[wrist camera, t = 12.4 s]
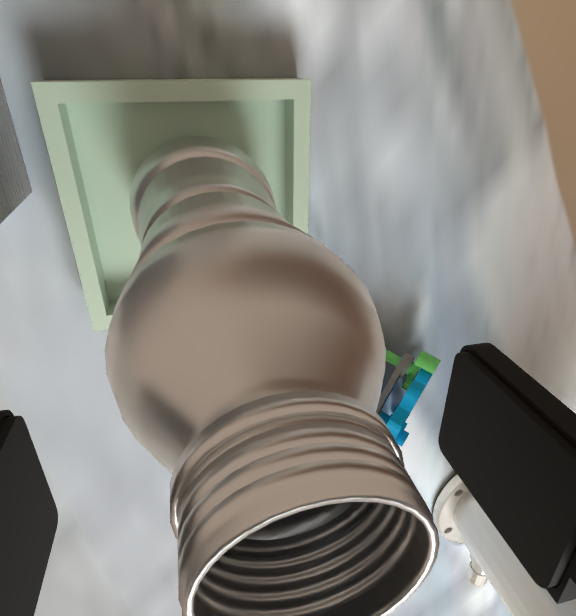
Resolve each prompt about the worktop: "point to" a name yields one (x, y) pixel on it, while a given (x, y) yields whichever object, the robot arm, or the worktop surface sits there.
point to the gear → (411, 385)
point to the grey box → (10, 164)
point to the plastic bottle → (261, 400)
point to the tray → (146, 139)
